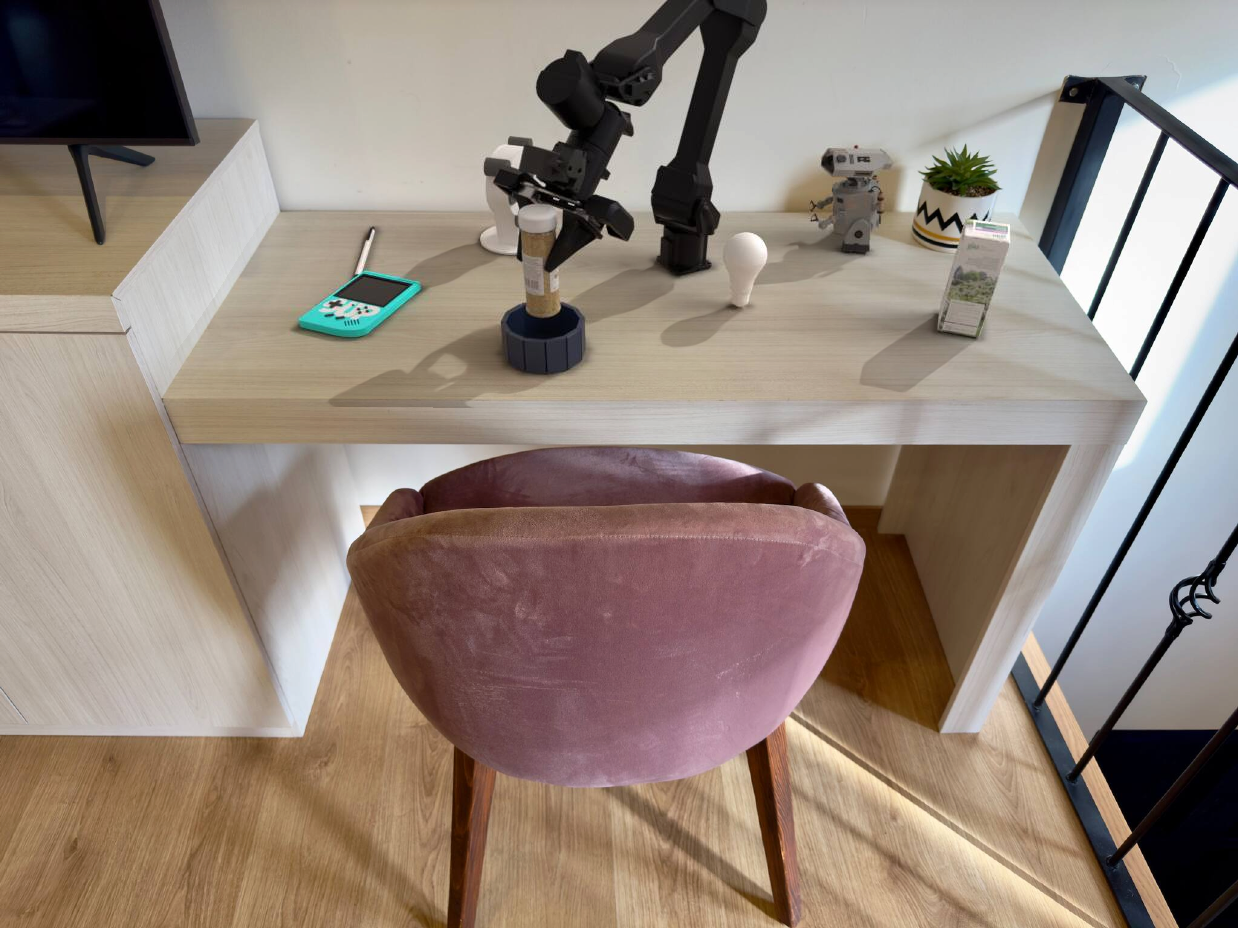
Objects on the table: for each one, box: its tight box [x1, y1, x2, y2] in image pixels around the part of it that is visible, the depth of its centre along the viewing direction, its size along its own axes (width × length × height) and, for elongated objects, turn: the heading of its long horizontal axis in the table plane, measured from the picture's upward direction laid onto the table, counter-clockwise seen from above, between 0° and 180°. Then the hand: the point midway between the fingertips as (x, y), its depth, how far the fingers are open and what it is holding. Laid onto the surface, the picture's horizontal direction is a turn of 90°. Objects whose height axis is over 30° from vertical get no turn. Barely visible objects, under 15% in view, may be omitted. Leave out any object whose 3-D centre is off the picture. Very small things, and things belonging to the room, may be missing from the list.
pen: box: [353, 225, 376, 278], centre depth 135 cm, size 1×19×1 cm, turn 5°
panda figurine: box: [479, 135, 535, 256], centre depth 135 cm, size 12×11×15 cm
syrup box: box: [936, 218, 1011, 338], centre depth 115 cm, size 6×6×14 cm
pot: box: [500, 300, 586, 375], centre depth 112 cm, size 11×11×5 cm
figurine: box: [809, 144, 894, 255], centre depth 136 cm, size 9×12×15 cm
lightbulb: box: [722, 231, 768, 308], centre depth 120 cm, size 6×6×11 cm
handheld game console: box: [297, 270, 422, 338], centre depth 122 cm, size 10×16×1 cm, turn 158°
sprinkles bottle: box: [518, 204, 561, 318], centre depth 105 cm, size 5×5×14 cm
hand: (532, 266), depth 105 cm, fingers closed on sprinkles bottle, 4 cm apart
